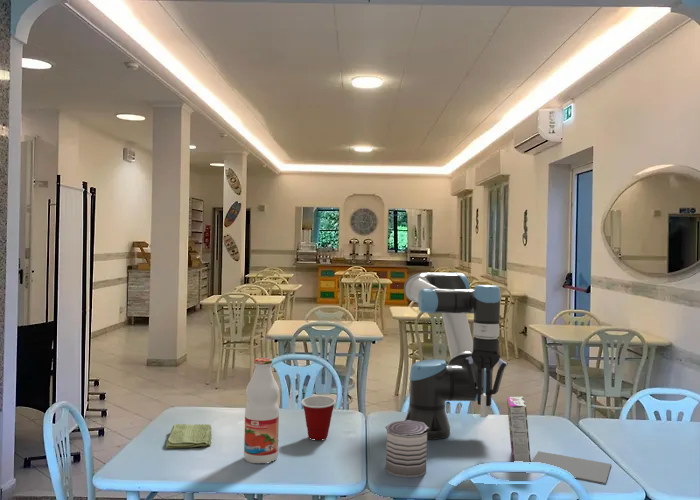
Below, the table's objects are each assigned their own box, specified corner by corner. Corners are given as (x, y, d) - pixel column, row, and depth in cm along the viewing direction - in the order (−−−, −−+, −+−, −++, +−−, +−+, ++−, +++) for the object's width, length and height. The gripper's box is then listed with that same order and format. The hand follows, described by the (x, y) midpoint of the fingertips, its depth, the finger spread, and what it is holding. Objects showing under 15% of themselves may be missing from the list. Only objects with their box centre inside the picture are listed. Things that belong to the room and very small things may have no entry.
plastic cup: (294, 440, 185) (294, 401, 185) (309, 431, 195) (310, 394, 195) (326, 445, 181) (327, 406, 181) (340, 435, 191) (341, 398, 191)
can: (433, 475, 160) (434, 430, 160) (393, 479, 156) (394, 433, 156) (416, 460, 171) (418, 418, 171) (378, 463, 167) (380, 420, 167)
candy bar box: (510, 451, 181) (506, 396, 181) (527, 451, 180) (523, 396, 180) (512, 464, 170) (508, 405, 170) (531, 464, 169) (527, 405, 169)
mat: (527, 469, 166) (527, 467, 166) (538, 452, 180) (538, 451, 180) (605, 484, 156) (605, 482, 156) (611, 465, 171) (611, 463, 171)
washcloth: (164, 451, 174) (164, 440, 174) (171, 432, 192) (171, 422, 192) (211, 449, 177) (211, 438, 177) (213, 431, 194) (214, 421, 194)
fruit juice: (283, 455, 172) (286, 357, 172) (267, 466, 163) (269, 363, 163) (254, 451, 175) (257, 354, 175) (237, 461, 166) (239, 360, 166)
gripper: (461, 336, 179) (459, 415, 179) (504, 340, 173) (502, 422, 173) (468, 333, 186) (466, 410, 186) (511, 337, 180) (509, 416, 180)
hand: (484, 416), depth 180 cm, fingers closed
